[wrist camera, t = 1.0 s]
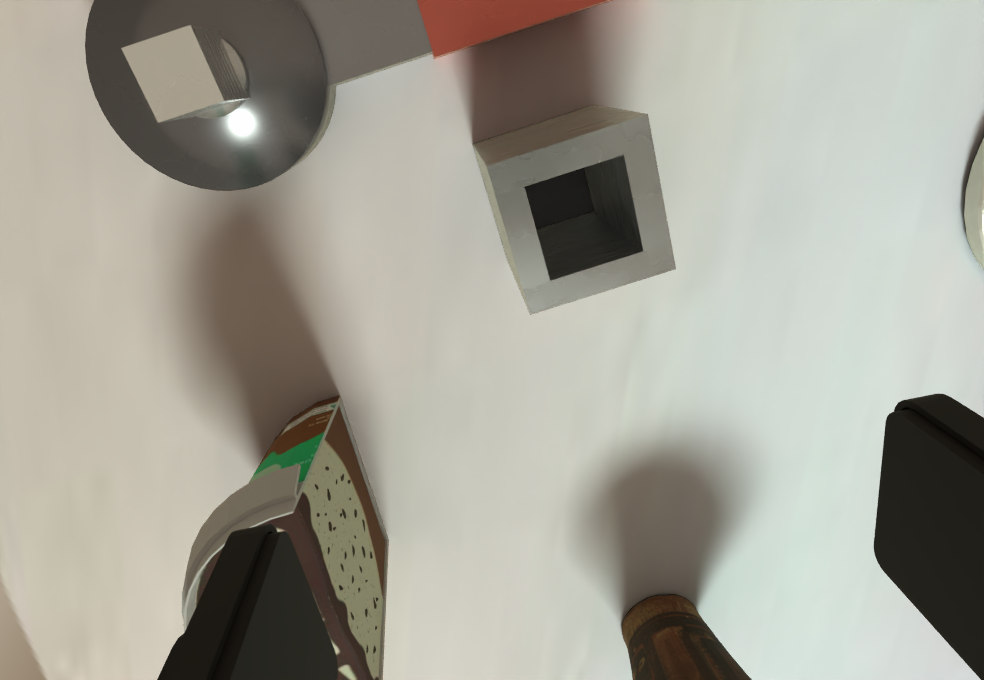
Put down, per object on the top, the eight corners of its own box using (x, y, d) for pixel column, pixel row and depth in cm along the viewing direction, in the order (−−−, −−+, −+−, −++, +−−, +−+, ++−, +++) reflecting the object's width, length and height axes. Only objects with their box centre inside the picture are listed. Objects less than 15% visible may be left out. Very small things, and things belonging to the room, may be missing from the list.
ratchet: (624, -186, 22) (690, -276, 17) (662, 47, 26) (729, 39, 20) (83, -3, 23) (-30, -30, 17) (187, 203, 26) (120, 238, 21)
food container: (205, 395, 30) (106, 538, 21) (331, 368, 30) (287, 498, 21) (288, 584, 35) (237, 767, 26) (395, 560, 35) (383, 734, 26)
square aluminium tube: (594, 104, 26) (647, 114, 20) (619, 225, 28) (675, 268, 22) (472, 144, 26) (486, 166, 20) (507, 261, 28) (530, 314, 22)
